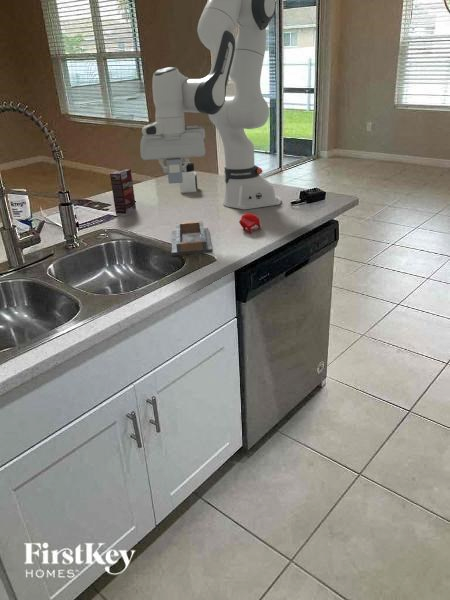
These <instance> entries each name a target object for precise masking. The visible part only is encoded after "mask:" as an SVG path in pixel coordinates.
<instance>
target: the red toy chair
mask: <svg viewBox="0 0 450 600" xmlns="http://www.w3.org/2000/svg"><path fill="white" fill-rule="evenodd" d="M238 222H239V224H240V226H241V227H242V229H243V231H245V230H246V229H247V231H248V232H249V233H250V234H252V233H253V230H252V228H254V227H255V226H257V227H258V228H259V229H261V228H262V226H261V225H260V224H261V221H260V218H259V216H257V215H256V214H253V213H250V212H245V213H243V214H242V215H241V217H240V219H239V221H238Z"/></svg>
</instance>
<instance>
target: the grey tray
mask: <svg viewBox="0 0 450 600" xmlns="http://www.w3.org/2000/svg"><path fill="white" fill-rule="evenodd" d="M175 226H176V227H175V230H171V256H173V257H174V256H175V257H176V256H184V255H185V256H186V255H197V254H208V253H213V246H212V242H211V236H210V231H209V230H210V229H209V227H205V226H204V222H203V220H200V221H198V220H197V221H190V222H189V221H188V222H187V221H186V222H177V223H176V224H175Z"/></svg>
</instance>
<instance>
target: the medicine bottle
mask: <svg viewBox="0 0 450 600" xmlns="http://www.w3.org/2000/svg"><path fill="white" fill-rule="evenodd" d="M181 164H182V166H184V164H185V162H181ZM182 175H183V183H178V185H179V192H180V194H183V193H187V194H188V193H197V191H198V177H197V176H198V175H197V172H195V165H194V163H193V162H191V161H189V162H188V164H187V166H186V172H182Z"/></svg>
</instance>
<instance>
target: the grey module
mask: <svg viewBox="0 0 450 600" xmlns="http://www.w3.org/2000/svg"><path fill="white" fill-rule="evenodd" d="M166 167H167V171H168V173H167V178H168V179H167V180H168V184H169V185H170V184H179V183H183V175H182V158H170V159H166Z"/></svg>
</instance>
